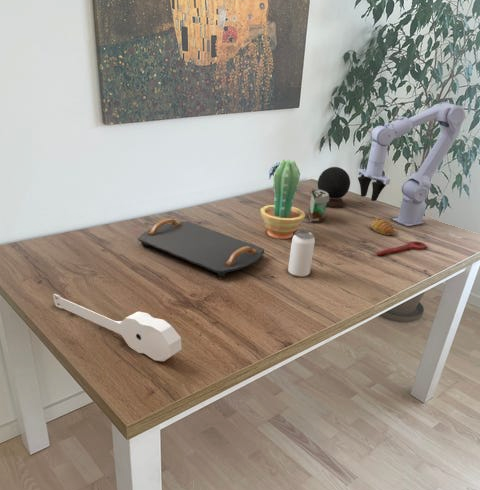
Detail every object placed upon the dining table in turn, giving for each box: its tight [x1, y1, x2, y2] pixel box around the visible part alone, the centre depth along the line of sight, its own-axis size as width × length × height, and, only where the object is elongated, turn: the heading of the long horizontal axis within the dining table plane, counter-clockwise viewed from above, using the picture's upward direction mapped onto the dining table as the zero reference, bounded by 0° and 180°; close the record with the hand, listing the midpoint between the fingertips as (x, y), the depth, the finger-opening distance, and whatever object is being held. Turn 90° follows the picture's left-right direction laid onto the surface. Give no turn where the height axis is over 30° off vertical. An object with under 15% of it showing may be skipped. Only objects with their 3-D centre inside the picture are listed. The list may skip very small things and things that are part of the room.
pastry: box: [370, 217, 395, 236], centre depth 176 cm, size 9×7×4 cm
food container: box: [308, 187, 329, 224], centre depth 181 cm, size 12×6×10 cm, turn 179°
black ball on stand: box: [317, 166, 351, 209], centre depth 198 cm, size 13×13×15 cm
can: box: [287, 230, 316, 278], centre depth 139 cm, size 6×6×12 cm
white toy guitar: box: [52, 293, 183, 362], centre depth 107 cm, size 38×8×4 cm
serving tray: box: [137, 218, 265, 280], centre depth 148 cm, size 39×23×6 cm, turn 53°
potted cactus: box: [260, 159, 306, 240], centre depth 161 cm, size 15×15×25 cm
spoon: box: [376, 241, 427, 257], centre depth 162 cm, size 23×5×2 cm, turn 122°
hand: (368, 198), depth 180 cm, fingers open, 5 cm apart
